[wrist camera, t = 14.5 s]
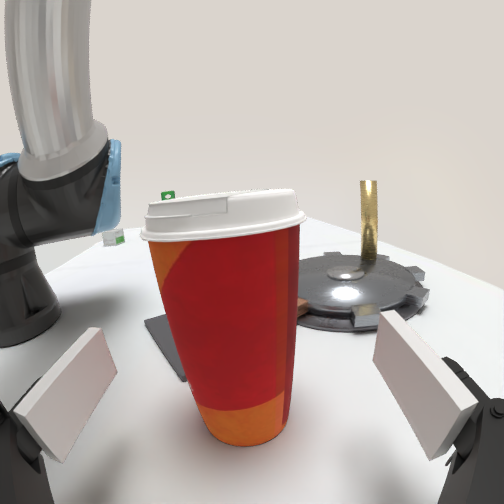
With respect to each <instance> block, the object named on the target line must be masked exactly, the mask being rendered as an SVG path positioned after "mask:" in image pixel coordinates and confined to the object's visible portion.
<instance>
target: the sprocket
mask: <svg viewBox="0 0 504 504" xmlns="http://www.w3.org/2000/svg"><path fill="white" fill-rule="evenodd" d="M360 188H361V256H358V255H342V254H341V253H340V252H324V256H319V257H313V258H307V259H303V260H299V278H298V304H297V317H299V316H301V315H303V314H304V313H306V312H310V313H315V314H320V315H327V316H337V317H350V318H351V320H352V323H353V325H354V327H363V326H373V325H378V324H379V317H380V312H384V311H390V310H394V309H396V308H398V307H400V306H402V305H404V304H408V305H412V306H416V307H419V308H422V306H423V305H424V304H425V302H426V301H427V300H428V297H429V290H430V289H425V288H421V287H416V286H415V281H424V276H425V272H424V271H423V270H421V269H420V268H418V267H417V266H412V267H404V266H402V265H400V264H397V263H395V262H392V261H389V256H385V255H379V254H377V223H378V220H377V218H378V217H377V181H360Z"/></svg>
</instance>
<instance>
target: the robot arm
mask: <svg viewBox="0 0 504 504" xmlns="http://www.w3.org/2000/svg"><path fill="white" fill-rule="evenodd" d="M90 8H91V0H5V49H6V60H7V69H8V77H9V84H10V90H11V95H12V101H13V105H14V110H15V115H16V119H17V123H18V127H19V131H20V134H21V138H22V141H23V145H24V148H23V151H22V153H21V154H19V153H7V154H3V155H1V156H0V347H4V346H10V345H14V344H18V343H21V342H23V341H26V340H28V339H31V338H33V337H35V336H36V335H38V334H40V333H42V332H43V331H45V330H46V329H48V328H49V327H50V326H51V325H52V324H53V323H54V322H55V321H56V320H57V319H58V318H59V316H60V313H61V309H60V306H59V303H58V300H57V297H56V295H55V293H54V292H53V290H52V288H51V287H50V285H49V283H48V282H47V280H46V278H45V276H44V275H43V273H42V271H41V269H40V268H39V266H38V263H37V259H36V255H35V250H34V246H39V245H43V244H48V243H53V242H58V241H63V240H69V239H74V238H80V237H85V236H94V235H95V234H97V233H100V232H104V231H108V230H112V229H114V228H115V227H116V226H117V225H118V223H119V222H120V217H121V205H120V204H121V203H120V169H121V142H120V141H119V140H114V139H111V140H108V133H107V129H106V127H105V126H104V125H103V124H102V123H100V122H99V121H97V120H95V119H93V116H92V106H91V94H90V80H89V79H90V78H89V23H90ZM373 362H374V364H375V365H376V367H377V369H378V370H379V372H380V374H381V375H382V377H383V379H384V380H385V382H386V384H387V385H388V387H389V389H390V390H391V392H392V394H393V396H394V397H395V399H396V401H397V403H398V404H399V406H400V408H401V410H402V411H403V413H404V415H405V417H406V418H407V420H408V422H409V424H410V426H411V427H412V429H413V431H414V433H415V435H416V437H417V439H418V440H419V442H420V444H421V446H422V448H423V450H424V452H425V454H426V456H427V457H428V459H429V461H431V460H433V459H435V458H437V457H439V456H442V455H444V454H446V453H447V451H448V450H449V449H450V447H451V446H452V444H454V446H455V448H456V450H455V452H454V453H453V454H452V456H451V457H450V458H449V459H448V461H447V462H446V464H445V466H448V464H449V463H450V462H451V465H450V468H449V471H448V475H447V478H446V481H445V484H444V487H443V490H442V492H441V495H440V498H439V500H438V503H437V504H504V399H501V398H493V399H490V398H489V397H488V396H487V395H486V394H485V393H484V391H483V390H482V389H481V388H480V387H479V386H478V385H477V384H476V383H475V381H474V380H473V379H472V378H471V377H469V375H468V374H467V373H466V372H465V371H464V369H463V368H462V367H461V366H460V365H459V364H458V363H457V362H455V361H454V360H452V359H450V358H448V357H444V358H440V357H439V356H438V355H437V354H436V353H435V351H434V350H433V349H432V348H431V347H430V346H429V345H428V344H427V343H426V342H425V341H424V340H423V339H422V338H421V337H420V336H419V335H418V333H417V332H416V331H415V330H414V329H413V328H412V327H411V326H410V325H409V324H408V323H407V322H406V321H405V320H404V319H403V318H402V317H401V316H400V315H399V314H398V313H397V312H396V311H395V310H390V311H384V312H380V317H379V324H378V331H377V338H376V344H375V350H374V355H373ZM116 374H117V370H116V367H115V365H114V362H113V360H112V357H111V354H110V352H109V349H108V346H107V343H106V340H105V338H104V335H103V332H102V329H101V328H94V327H89V328H88V329H87V330H86V331H85V332H84V333H83V334H82V335H81V336H80V337H79V338H78V339H77V340H76V341H75V343H74V344H73V345H72V346H71V347H70V348H69V349H68V350H67V351H66V352H65V353H64V354H63V355H62V356H61V357H60V358H59V359H58V360H57V361H56V362H55V364H54V365H53V366H52V367H51V368H50V369H49V370H48V371H47V372H46V373H45V374H44V375H43V376H42V377H40V378H39V379H37V380H36V381H35V382H34V383H33V385H32V386H31V388H29V389H28V390H27V391H26V393H25V394H24V395H23V396H22V397H21V398H20V399H19V401H18V402H17V403H16V404H15V405H14V406H13V408H12V409H11V410H10V411H9V412H7V410H6V409H5V407H4V406H3V404H2V402H1V401H0V504H54V501H53V497H52V494H51V490H50V486H49V482H48V478H47V474H46V469H45V464H44V459H43V457H42V455H41V454H40V452H41V450H43V451H44V452H45V453H46V454H47V455H48V457H49V458H51V459H53V460H55V461H57V462H59V463H62V464H63V463H64V461H65V459H66V457H67V456H68V454H69V452H70V450H71V448H72V447H73V445H74V443H75V441H76V440H77V438H78V436H79V434H80V433H81V431H82V429H83V427H84V426H85V424H86V422H87V421H88V419H89V417H90V416H91V414H92V412H93V411H94V409H95V407H96V406H97V404H98V402H99V401H100V399H101V398H102V396H103V394H104V393H105V391H106V390H107V388H108V386H109V385H110V383H111V382H112V380H113V378H114V377H115V375H116Z"/></svg>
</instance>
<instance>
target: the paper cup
mask: <svg viewBox="0 0 504 504" xmlns="http://www.w3.org/2000/svg"><path fill="white" fill-rule="evenodd" d="M145 219H146V226H145V227H143V228H142V229H141V233H140V236H141V238H142V240H145V241H148V243H149V248H150V252H151V257H152V261H153V266H154V270H155V274H156V278H157V282H158V286H159V290H160V294H161V298H162V301H163V305H164V309H165V312H166V316H167V319H168V323H169V326H170V329H171V333H172V336H173V339H174V342H175V346H176V349H177V352H178V355H179V358H180V361H181V364H182V367H183V369H184V372H185V375H186V378H187V381H188V383H189V386H190V389H191V391H192V394H193V396H194V399H195V401H196V404H197V406H198V409H199V411H200V413H201V416H202V418H203V420H204V422H205V424H206V426H207V428H208V430H209V431H210V432H211V434H212V435H213V436H214V437H216V438H217V439H218V440H220V441H222V442H224V443H227V444H230V445H234V446H255V445H259V444H262V443H265V442H267V441H269V440H271V439H273V438H274V437H276V436H277V435H278V434H279V433H280V432H281V431H282V430H283V428H284V427H285V425H286V422H287V419H288V415H289V408H290V401H291V391H292V381H293V369H294V356H295V342H296V325H297V304H298V278H299V234H300V224H301V223H303V222H304V221H306V219H307V217H306V216H305V214H304V212H302V211H300V210H299V207H298V202H297V198H296V194H295V192H294V191H293V189H273V190H269V189H256V190H250V191H235V192H225V193H214V194H205V195H197V196H189V197H182V198H175V199H169V200H163V201H157V202H153V203H149V209H148V214H147V216H145Z"/></svg>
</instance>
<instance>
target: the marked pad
mask: <svg viewBox="0 0 504 504" xmlns="http://www.w3.org/2000/svg"><path fill="white" fill-rule="evenodd" d="M144 322H145V325H146V327H147V329H148V330H149V332H150V333H151V335H152V337H153V338H154V340H155V341H156V343H157V345H158V346H159V348H160V349H161V351H162V352H163V354H164V355H165V357H166V358H167V360H168V361H169V363H170V364H171V366H172V367H173V369H174V370H175V371H176V373H177V374H178V376H179V377H180V378H181V380H182V381H183V382H184V381H187V378H186V375H185V372H184V369H183V367H182V364H181V361H180V358H179V355H178V352H177V349H176V346H175V342H174V339H173V336H172V333H171V329H170V326H169V323H168V319H167V316H166V314H164V315H161V316H157V317H154V318H151V319H147V320H144Z"/></svg>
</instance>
